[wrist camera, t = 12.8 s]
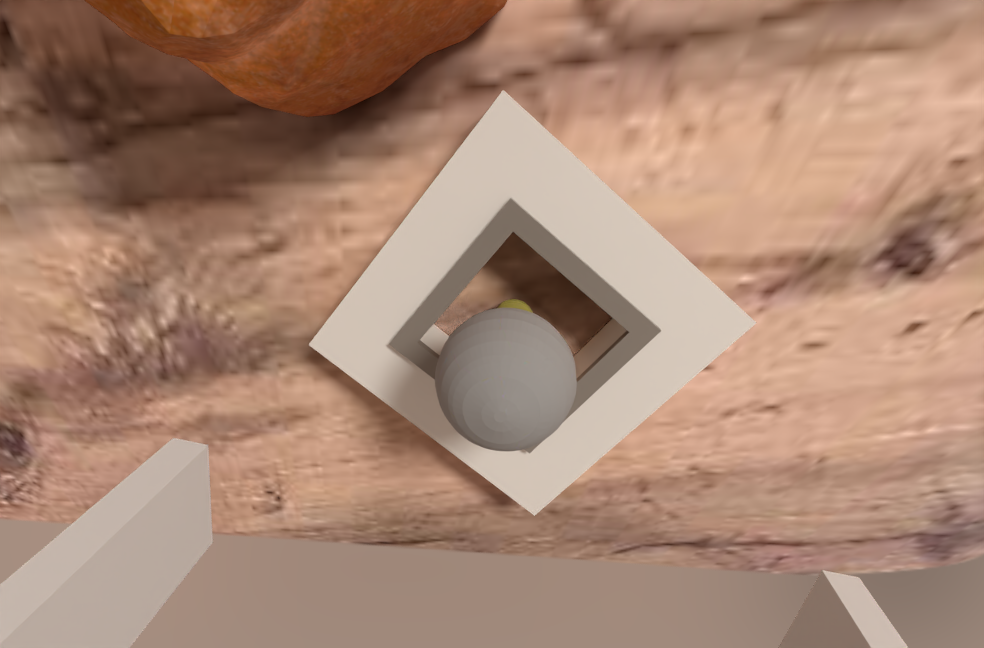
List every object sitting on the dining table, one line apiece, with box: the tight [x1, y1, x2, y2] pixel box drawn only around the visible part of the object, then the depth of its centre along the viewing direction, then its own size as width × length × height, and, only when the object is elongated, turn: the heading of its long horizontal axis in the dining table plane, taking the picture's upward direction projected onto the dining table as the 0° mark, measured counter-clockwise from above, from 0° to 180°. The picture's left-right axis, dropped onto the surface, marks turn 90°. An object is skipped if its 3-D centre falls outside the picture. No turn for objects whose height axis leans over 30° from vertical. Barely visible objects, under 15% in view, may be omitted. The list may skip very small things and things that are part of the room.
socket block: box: [309, 90, 756, 516], centre depth 25 cm, size 15×15×3 cm
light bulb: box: [435, 299, 577, 451], centre depth 22 cm, size 5×5×10 cm
